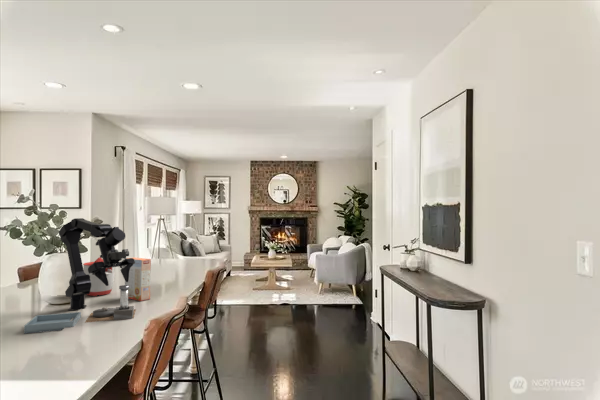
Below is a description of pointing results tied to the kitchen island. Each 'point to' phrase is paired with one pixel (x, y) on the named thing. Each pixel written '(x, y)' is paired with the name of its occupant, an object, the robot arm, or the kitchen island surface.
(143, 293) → the cracker box
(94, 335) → the kitchen island surface
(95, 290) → the citrus juicer
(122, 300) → the lock pin
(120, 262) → the robot arm
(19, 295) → the kitchen island surface
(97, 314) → the plate
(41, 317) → the tray
